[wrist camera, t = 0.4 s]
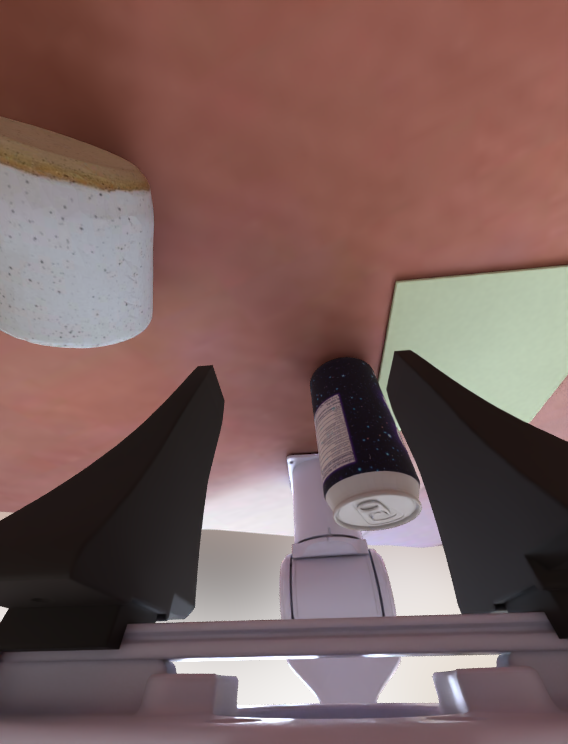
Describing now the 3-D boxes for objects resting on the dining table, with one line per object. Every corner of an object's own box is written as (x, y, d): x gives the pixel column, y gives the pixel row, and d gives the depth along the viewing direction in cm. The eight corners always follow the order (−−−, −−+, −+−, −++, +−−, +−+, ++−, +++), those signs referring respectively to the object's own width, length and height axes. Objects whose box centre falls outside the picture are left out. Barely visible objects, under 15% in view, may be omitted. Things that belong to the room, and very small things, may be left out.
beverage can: (329, 405, 27) (354, 540, 18) (297, 371, 24) (307, 511, 15) (381, 380, 25) (442, 518, 15) (353, 339, 22) (408, 479, 12)
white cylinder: (175, 167, 14) (97, 179, 8) (169, 302, 19) (117, 369, 13) (-60, 80, 12) (-379, 14, 6) (1, 256, 17) (-147, 310, 11)
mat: (528, 420, 29) (530, 422, 28) (368, 430, 29) (369, 433, 29) (654, 256, 18) (659, 257, 17) (395, 280, 19) (397, 282, 18)
